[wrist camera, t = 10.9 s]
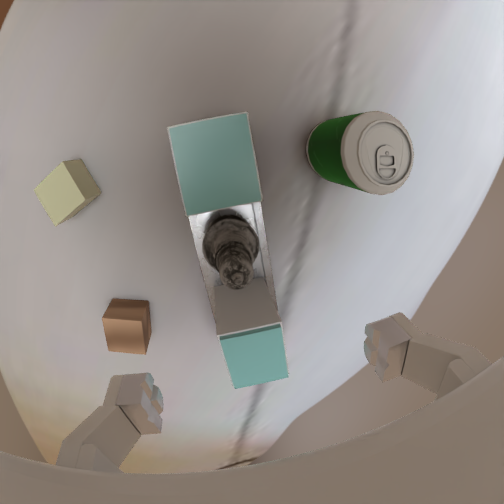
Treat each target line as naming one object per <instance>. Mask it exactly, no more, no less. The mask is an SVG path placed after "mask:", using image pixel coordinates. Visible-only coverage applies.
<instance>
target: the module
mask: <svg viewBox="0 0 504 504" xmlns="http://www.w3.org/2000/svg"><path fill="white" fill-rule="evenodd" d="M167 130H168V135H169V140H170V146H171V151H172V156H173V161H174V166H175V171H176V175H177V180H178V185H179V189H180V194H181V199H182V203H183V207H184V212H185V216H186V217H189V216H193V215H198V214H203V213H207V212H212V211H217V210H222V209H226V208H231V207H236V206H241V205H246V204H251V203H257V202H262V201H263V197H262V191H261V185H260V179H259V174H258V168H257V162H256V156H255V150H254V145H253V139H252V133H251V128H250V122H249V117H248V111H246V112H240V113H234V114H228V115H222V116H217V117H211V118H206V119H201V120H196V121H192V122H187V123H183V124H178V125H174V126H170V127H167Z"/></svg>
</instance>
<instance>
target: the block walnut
mask: <svg viewBox="0 0 504 504" xmlns="http://www.w3.org/2000/svg"><path fill="white" fill-rule="evenodd" d="M102 321H103V326H104V331H105V336H106V341H107V346H108V350H109V351H113V352H123V353H133V354H145V355H146V352H147V348H148V344H149V340H150V336H151V322H150V312H149V301H144V300H128V299H114V298H113V299H112V301H111V303H110V304H109V306H108V308H107V310H106V312H105V313H104V315H103V317H102Z"/></svg>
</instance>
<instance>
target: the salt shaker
mask: <svg viewBox="0 0 504 504" xmlns="http://www.w3.org/2000/svg"><path fill="white" fill-rule="evenodd" d="M202 252H203V255H204V258H205V260H206V261H207V263H208V264H209V265H210V266H211V267H212V268H213V269H215V270H217V271H218V273H219V276H220V279H221V281H222V282H223V284H224V285H225V286H226V287H228V288H230V289H233V290H239V289H243V288H245V287H246V286H248V285H249V284H250V282H251V281H252V278H253V275H254V270H253V263H254V261H255V259H256V258H257V256H258V252H259V239H258V236H257V234H256V232H255V230H254V229H253V228H252V227H251V226H250V225H249V224H248V223H247V222H246V221H245V220H244V219H242V218H240V217H239V216H236V215H223V216H219V217H218V218H216V219H214V220H213V221H212V222H211V223H210V225H209V226H208V228H207V231H206V234H205V236H204V238H203V242H202Z"/></svg>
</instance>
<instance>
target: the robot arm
mask: <svg viewBox="0 0 504 504" xmlns="http://www.w3.org/2000/svg"><path fill="white" fill-rule="evenodd" d="M365 334H366V335H367V336H368V337H367V338H366V340H365V341H364V352H365V356H366V358H367V360H368V362H369V363H370V364H372V365H374V366H376V368H375V372H376V374H377V375H378V376H379V378H380V379H381V381H382V382H385V381H388V380H390V379H393V378H396V377H398V376H401V375H402V377H404V378H406V379H408V380H410V381H412V382H414V383H416V384H418V385H420V386H422V387H424V388H426V389H428V390H430V391H432V392H434V393H436V394H437V396H436V398H435V401H434V402H432V403H430V404H428V405H426V406H424V407H422V408H420V409H418V410H416V411H414V412H412V413H410V414H408V415H406V416H404V417H402V418H400V419H398V420H395V421H393V422H391V423H389V424H386V425H384V426H382V427H379V428H377V429H374V430H372V431H369V432H367V433H364V434H362V435H359V436H356V437H354V438H351V439H348V440H345V441H342V442H340V443H336V444H334V445H331V446H327V447H324V448H321V449H317V450H314V451H310V452H307V453H303V454H300V455H295V456H291V457H288V458H283V459H279V460H274V461H270V462H265V463H259V464H254V465H248V466H242V467H236V468H229V469H221V470H213V471H203V472H190V473H171V474H132V473H124V472H123V471H121V470H120V469H119V466H120V465H121V463H122V462H123V461H124V459H125V458H126V456H127V455H128V454H129V452H130V451H131V449H132V448H133V447H134V445H135V444H136V442H137V441H138V439H139V438H140V437H141V435H143V434H157V433H161V429H162V418H161V417H160V413H161V412H162V411H163V405H164V404H163V397H162V394H161V392H160V390H159V388H158V387H157V386H155V385H153V383H154V379H153V377H152V375H151V374H150V373H138V374H125V375H114V376H113V377H111V380H110V383H109V386H108V390H107V393H106V396H105V400H104V403H103V406H99V407H98V408H97V409H96V410H95V411H94V412H93V413H92V414H91V415H90V416H89V417H88V418H87V419H85V420H84V421H83V422H82V423H81V424H80V425H79V426H78V427H77V428H76V429H75V430H74V431H73V432H72V433H71V434H69V435H68V436H67V437H66V438H65V439H64V440H63V442H62V445H61V448H60V452H59V455H58V458H57V462H56V465H52V464H47V463H43V462H38V461H33V460H29V459H26V458H22V457H18V456H14V455H11V454H8V453H4V452H2V451H0V504H504V356H503V357H501V358H500V359H499V360H498V361H496V362H495V363H494V364H492V363H491V362H490V361H489V360H488V359H487V358H486V357H485V356H484V355H483V354H482V353H481V352H480V351H479V350H478V349H477V348H475V347H473V346H469V345H465V344H462V343H459V342H455V341H452V340H448V339H445V338H442V337H438V336H435V335H431V334H428V333H425V334H423V333H422V332H421V331H420V330H419V329H418V328H417V327H416V326H415V325H414V324H413V323H412V322H411V321H410V320H409V319H408V318H407V317H406V316H405V315H404V314H403V313H400V312H399V313H397V314H394V315H391V316H389V317H386V318H383V319H381V320H378V321H375V322H372V323H369V324H367V325H366V327H365Z"/></svg>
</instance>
